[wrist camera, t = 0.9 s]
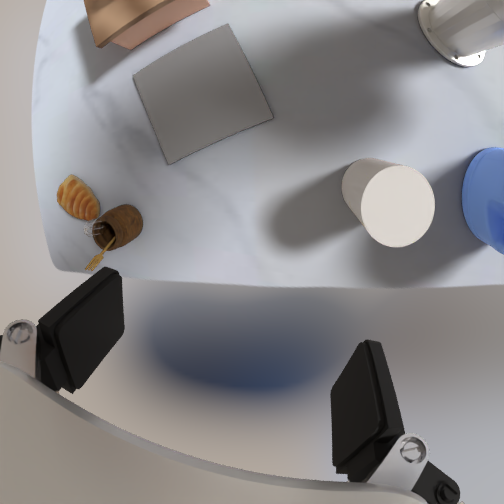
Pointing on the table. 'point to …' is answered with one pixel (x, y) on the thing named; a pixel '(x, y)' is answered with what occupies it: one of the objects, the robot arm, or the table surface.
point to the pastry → (78, 199)
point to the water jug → (485, 197)
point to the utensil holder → (115, 230)
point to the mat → (201, 94)
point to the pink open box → (158, 21)
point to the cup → (389, 200)
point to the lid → (117, 16)
